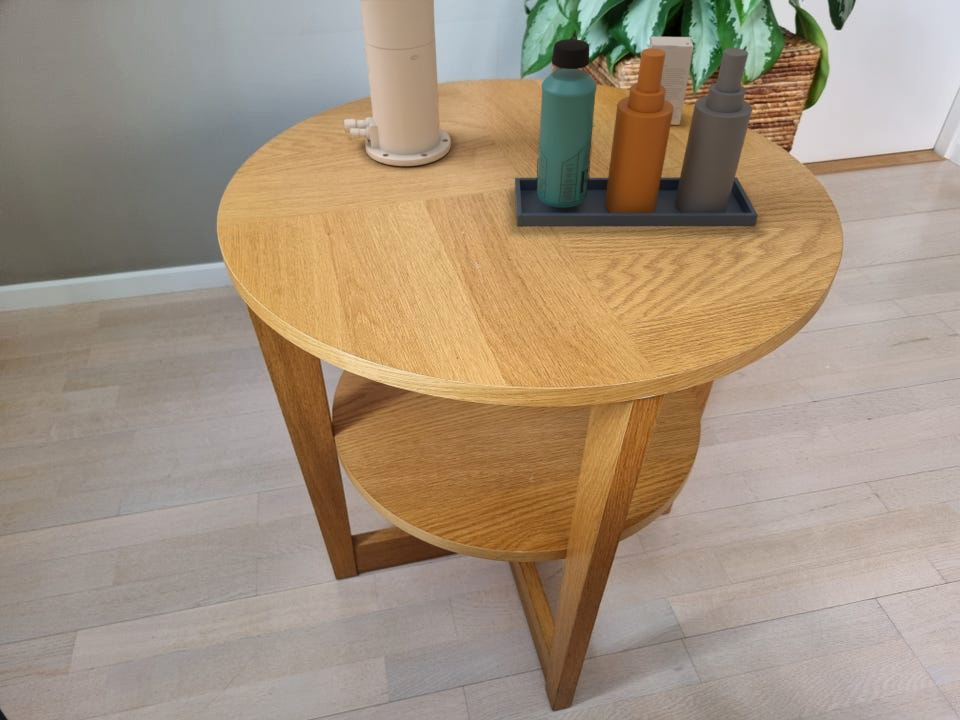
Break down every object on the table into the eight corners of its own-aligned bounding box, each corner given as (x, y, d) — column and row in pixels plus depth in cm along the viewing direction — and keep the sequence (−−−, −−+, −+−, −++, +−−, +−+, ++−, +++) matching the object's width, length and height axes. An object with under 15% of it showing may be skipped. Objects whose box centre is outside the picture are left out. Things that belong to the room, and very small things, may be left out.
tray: (516, 231, 86) (517, 215, 85) (514, 193, 94) (515, 177, 92) (753, 231, 86) (758, 215, 85) (732, 192, 93) (737, 177, 92)
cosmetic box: (677, 114, 112) (691, 36, 104) (679, 126, 109) (695, 46, 101) (638, 113, 113) (650, 35, 105) (640, 124, 110) (652, 44, 102)
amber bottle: (608, 219, 87) (628, 62, 74) (601, 193, 92) (620, 42, 79) (659, 219, 87) (689, 62, 74) (650, 193, 92) (677, 42, 79)
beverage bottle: (583, 221, 87) (601, 54, 73) (530, 216, 88) (538, 50, 74) (588, 196, 91) (605, 34, 78) (538, 191, 92) (546, 31, 79)
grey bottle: (680, 219, 87) (713, 62, 74) (670, 193, 92) (700, 42, 79) (732, 218, 87) (774, 61, 74) (719, 193, 92) (756, 41, 79)
